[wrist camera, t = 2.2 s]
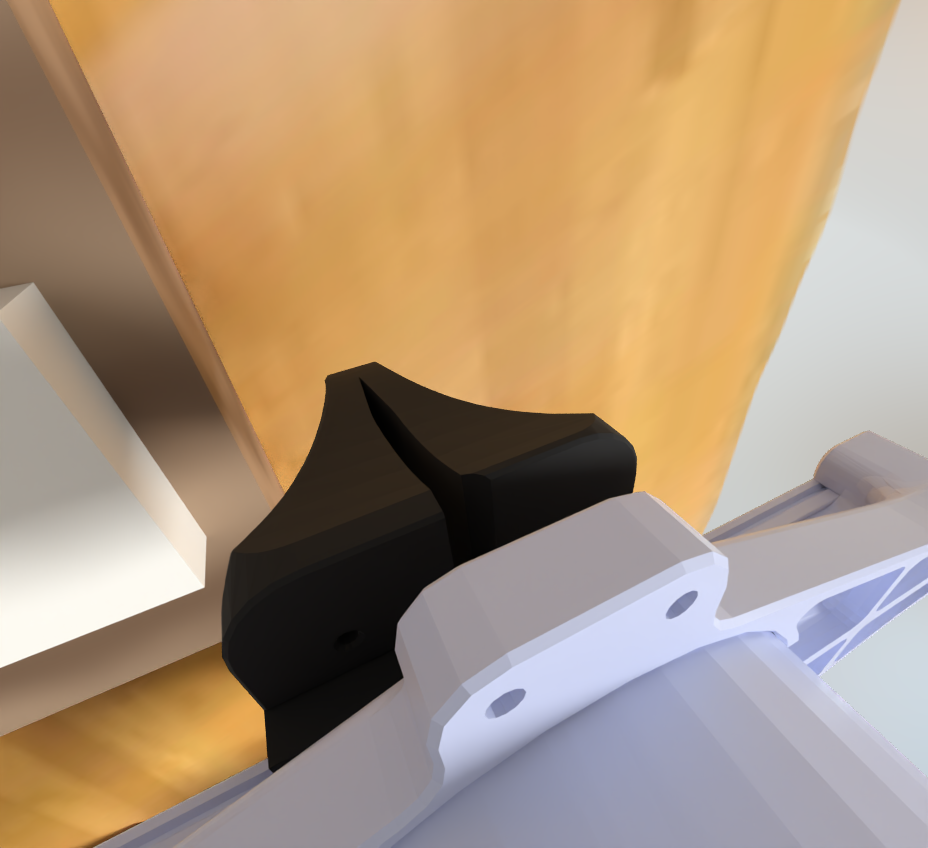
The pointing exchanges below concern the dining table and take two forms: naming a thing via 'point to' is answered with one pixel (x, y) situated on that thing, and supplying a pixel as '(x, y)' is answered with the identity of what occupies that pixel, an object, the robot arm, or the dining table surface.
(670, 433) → the dining table surface
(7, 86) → the brown flat block
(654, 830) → the robot arm
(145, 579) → the tile
